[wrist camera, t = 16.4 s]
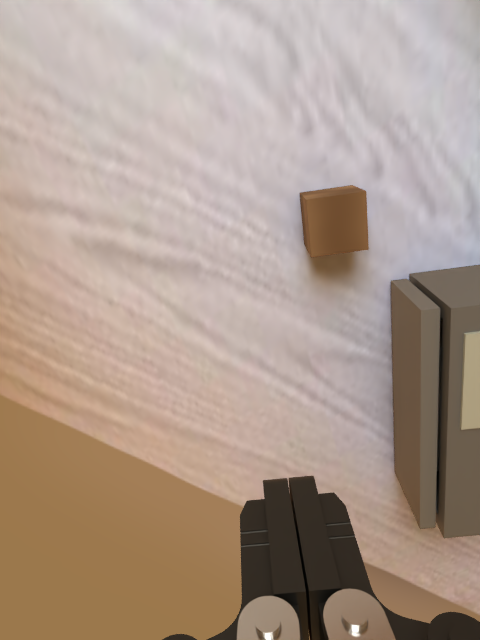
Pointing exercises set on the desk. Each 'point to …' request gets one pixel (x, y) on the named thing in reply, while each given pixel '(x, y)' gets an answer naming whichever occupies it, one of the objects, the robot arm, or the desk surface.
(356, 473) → the desk surface
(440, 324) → the tray
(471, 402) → the housing
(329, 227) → the brown block
